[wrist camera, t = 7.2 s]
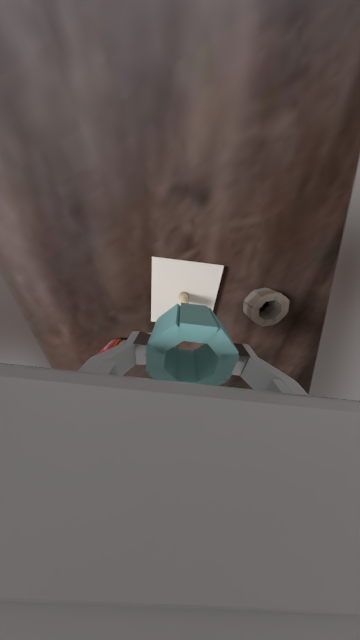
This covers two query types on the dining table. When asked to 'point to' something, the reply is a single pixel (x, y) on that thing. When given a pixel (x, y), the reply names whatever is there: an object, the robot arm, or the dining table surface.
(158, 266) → the post stand
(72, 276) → the dining table surface
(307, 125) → the dining table surface
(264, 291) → the grey ring
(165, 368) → the teal ring
